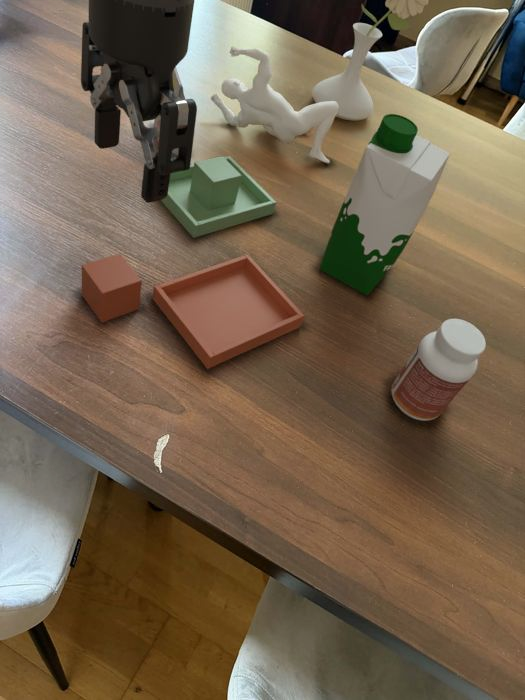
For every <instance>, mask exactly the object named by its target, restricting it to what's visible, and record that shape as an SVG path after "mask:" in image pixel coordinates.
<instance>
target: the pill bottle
mask: <svg viewBox="0 0 525 700" xmlns="http://www.w3.org/2000/svg"><path fill="white" fill-rule="evenodd" d="M486 343H487V342H486V339H485V336H484V334H483V333H482V332H481V331H480V329H478V328H477V327H476V326H475V325H474V324H472V323H470V322H469V321H467V320H464V319H460V318H448V319H446V320H445V321H443V322H442V323H441V324H440V326H439V328H438V329H437V330H435V331H432V332H429V333H428V334H426V335H425V336H423V338H422V339H421V340H420V341H419V343H418V345H417V346H416V348H415V350H414V351H413V352H412V353H411V355H410V357H409V358H408V360H407V361H406V362H405V364H404V365H403V366H402V368H401V370H400V372H399V373H398V375H396V377H395V379H394V380H393V383H392V385H391V396H392V400H393V402H394V403H395V405H396V406H397V408H398V409H399V410H400V411H401V412H402V413H403V414H405V415H406V416H408V417H409V418H412V419H413V420H417V421H421V422H422V421H423V422H426V421H432V420H435V419H436V418H438V417H439V416H440V415H441V414H442V413H443V412H444V411H445V409H446V408H448V406H449V405H450V404H451V402H452V401H453V400H454V399H455V398H456V397H457V395H459V393H460V392H461V391H462V390H463V388H464V387H465V386H466V385H467V384H468V382H469V381H470V379H472V378H473V376H474V375H475V374H476V372H477V370H478V364H479V361H478V359H479V358H480V357H481V355H482V354H483V352H485V349H486Z"/></svg>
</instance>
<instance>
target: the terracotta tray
mask: <svg viewBox="0 0 525 700" xmlns="http://www.w3.org/2000/svg"><path fill="white" fill-rule="evenodd" d="M152 299H153V302H154V303H156V305H157V306H158V308H159V309H160V310H161V311H162V313H163V314H164V315H165V316H166V318H167V319H168V321H170V323H171V324H172V325H173V327H174V328H175V329H176V331H177V332H178V333H179V334H180V336H181V337H182V338H183V339H184V341H185V342H186V343H187V345H188V346H189V347H190V349H191V350H192V351H193V353H194V354H195V355H196V357H197V358H198V359H199V360H200V361H201V364H203V365H204V367H205V368H206V369H207V370H209V369H212V368H213V367H215V366H217V365H219V364H222V363H223V362H227V361H229V360H230V359H233V358H235V357H237V356H240V355H241V354H243V353H246V352H248V351H250V350H253V349H255V348H257V347H260V346H263V344H266V343H268V342H270V341H272V340H275V339H277V338H279V337H282V336H283V335H286V334H288V333H290V332H292V331H295V330H297V329H299V328H301V326H302V323H303V322H304V319H305V317H306V316H305V314H304V313H303V312H302V311H301V310H300V309H299V308H298V307H297V306H296V304H294V302H293V301H292V300H291V299H290V298H289V297H288V296H287V294H285V293H284V292H283V290H282V289H281V288H280V287H279V286H278V284H276V283H275V281H273V279H272V278H271V277H270V276H269V275H268V274H267V273H266V272H265V271H264V270H263V269H262V267H261V266H260V265H259V264H258V263H257V262H256V261H255V260H254V259H253V258H252V256H250V254H249V253H247V254H244V255H243V254H242V255H241V256H238V257H235V258H232V259H229V260H226V261H223V262H219V263H217V264H214V265H212V266H211V265H210V266H208V267H205V268H202V269H200V270H197V271H194V272H191V273H188V274H185V275H182V276H179V277H176V278H174V279H169V280H167V281H164V282H162V283H159V284H156V285H154V286H153V291H152Z"/></svg>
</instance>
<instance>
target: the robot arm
mask: <svg viewBox="0 0 525 700" xmlns="http://www.w3.org/2000/svg"><path fill="white" fill-rule="evenodd" d="M194 6H195V0H88V21H86V22H83V23H82V30H81V59H80V60H81V61H80V62H81V63H80V64H81V65H80V66H81V67H80V85H81V88H82V90H83V91H84V92H90V97H89V99H90V104H91V106H92V108H93V109H94V139H93V140H94V144H95V145H96V146H97V148H98V149H100V150H102V149H104V150H105V149H109V148H114V147H116V146H118V145H119V143H120V134H121V133H120V130H121V114H122V110H123V111H124V113H125V115H126V116H127V117H128V118H129V123H130V126H131V131H132V135H133V138H134V139H135V140H136V141H138V142H139V143H140V145H141V149H142V153H143V157H144V162H145V163H144V164H143V171H142V172H143V173H142V180H141V181H142V182H141V194H140V196H141V198H142V199H143V201H145V203H147V204H151V203H154V202H158V201H161V200H162V199H164V198H166V196H167V194H168V188H169V181H170V173H175V172H179V171H185V170H189V169H190V164H192V163H191V162H192V155H193V148H194V147H193V145H194V136H195V130H196V129H195V128H196V121H197V113H198V112H197V111H198V106H197V103H196V101H195V99H193V98H187V99H186V98H185V99H186V100H182V99H181V98H179V97H178V96H177V95H176V94H175V93H174V86H173V70H174V68H175V67H176V68H177V66H178V65H179V64H180V63H181V62H182V60H184V58H185V57H186V55H187V54H188V50H189V44H190V36H191V27H192V21H193V13H194ZM97 67H100V74H94V75H93V71H94V69H95V68H97ZM157 117H158V120H159V121H160V127H154V126H153V127H147V126H146V125H145V123H144V122H148V121H154V120H155V119H156V118H157ZM157 137H159V144H158V150H157V151H156V149H155V145H154V138H157ZM176 148H179V151H178V154H177V153H176Z"/></svg>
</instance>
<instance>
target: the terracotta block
mask: <svg viewBox="0 0 525 700" xmlns="http://www.w3.org/2000/svg"><path fill="white" fill-rule="evenodd" d="M142 282H143V281H142V279H141V278H140V277H139V275H138V274H137V273H136V271H135V270H134V268H133V267H131V265H130V264H129V262H128V261H127V260H126V259H125V257H124V256H123V255H122V253H118V254H114V255H111V256H107V257H105V258H101V259H97V260H94V261H90V262H87V263H84V264H81V295H82V297H83V298H84V300H85V301H86V302H87V304H88V305H89V307H90V309H91V310H92V311H93V313H94V314H95V316H96V317H97V318H98V319H99V321H100V322H101V323H104V322H107V321H110V320H113V319H116V318H119V317H122V316H124V315H126V314H129V313H132V312H135V311H138V310H139V309H140V301H141V290H142Z"/></svg>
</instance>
